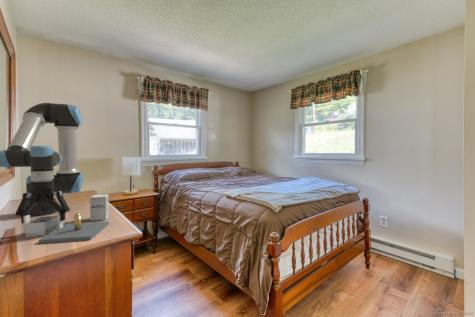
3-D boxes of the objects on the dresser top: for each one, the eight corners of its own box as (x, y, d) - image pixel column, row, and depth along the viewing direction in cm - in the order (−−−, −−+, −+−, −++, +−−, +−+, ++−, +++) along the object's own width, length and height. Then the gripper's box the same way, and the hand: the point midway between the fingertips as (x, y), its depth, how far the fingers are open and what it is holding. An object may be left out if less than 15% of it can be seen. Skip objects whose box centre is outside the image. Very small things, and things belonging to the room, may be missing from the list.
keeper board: (67, 226, 104) (67, 223, 104) (108, 224, 108) (108, 221, 108) (38, 243, 85) (38, 239, 85) (90, 239, 89) (90, 236, 89)
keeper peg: (76, 228, 97) (76, 212, 97) (82, 228, 98) (82, 212, 98) (73, 230, 95) (73, 214, 95) (79, 230, 96) (79, 213, 95)
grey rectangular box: (41, 229, 101) (41, 216, 100) (58, 228, 102) (58, 215, 102) (25, 237, 91) (25, 223, 91) (44, 236, 92) (44, 222, 92)
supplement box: (89, 221, 113) (89, 197, 112) (93, 217, 119) (93, 194, 119) (106, 220, 115) (106, 196, 115) (108, 216, 122) (108, 193, 122)
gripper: (2, 182, 90) (3, 234, 90) (69, 180, 95) (70, 229, 95) (16, 180, 97) (17, 228, 97) (78, 178, 102) (79, 224, 103)
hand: (44, 229), depth 96 cm, fingers open, 12 cm apart
